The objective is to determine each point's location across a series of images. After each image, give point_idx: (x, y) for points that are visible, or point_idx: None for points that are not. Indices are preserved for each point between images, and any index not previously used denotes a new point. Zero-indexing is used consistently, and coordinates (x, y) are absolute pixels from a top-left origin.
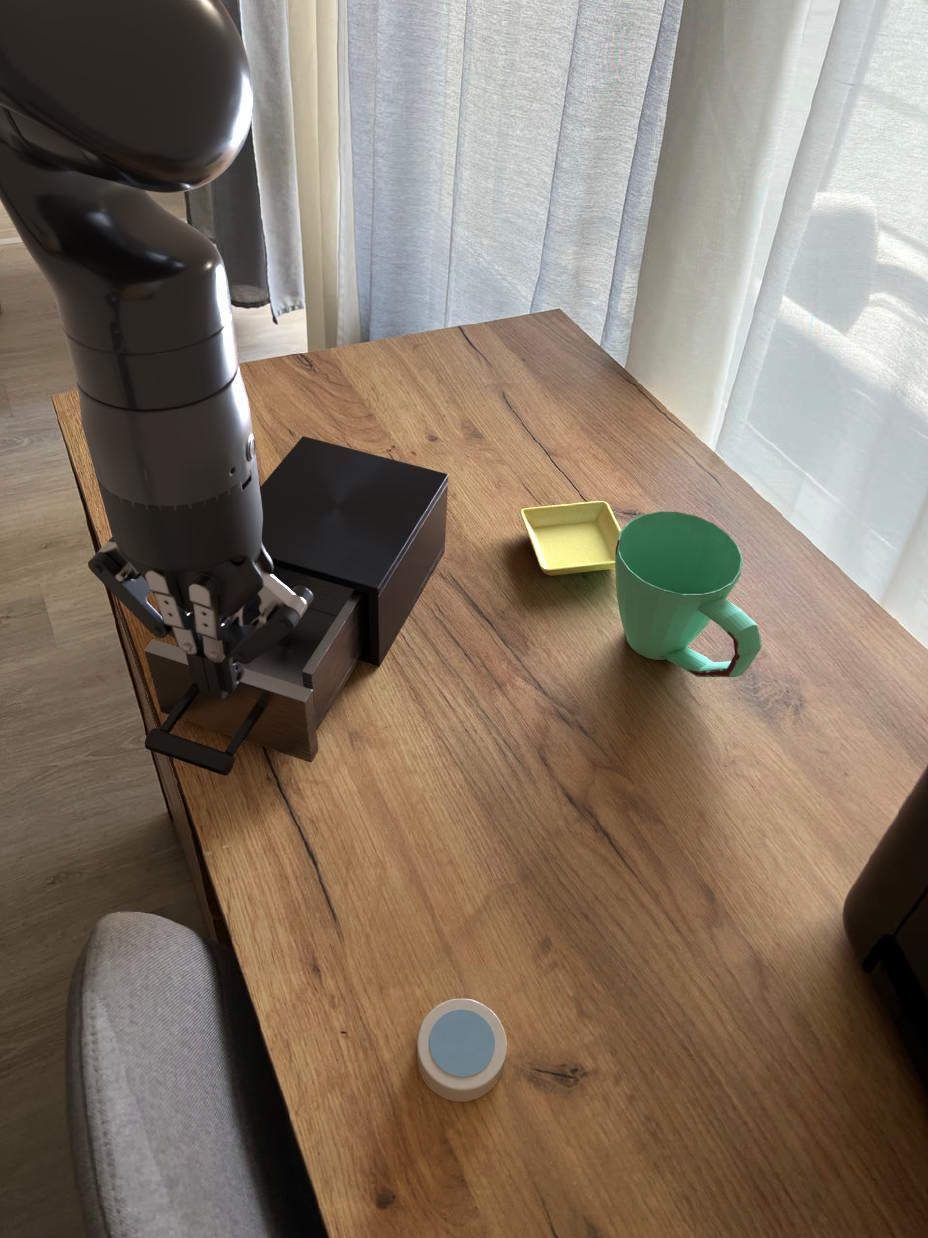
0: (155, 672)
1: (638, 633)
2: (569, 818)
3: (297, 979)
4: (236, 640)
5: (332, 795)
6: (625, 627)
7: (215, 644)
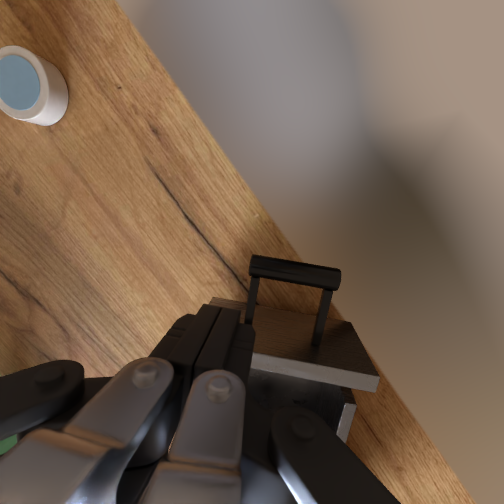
0: (361, 354)
1: (4, 442)
2: (33, 287)
3: (165, 119)
4: (54, 428)
5: (193, 274)
6: None
7: (108, 407)
